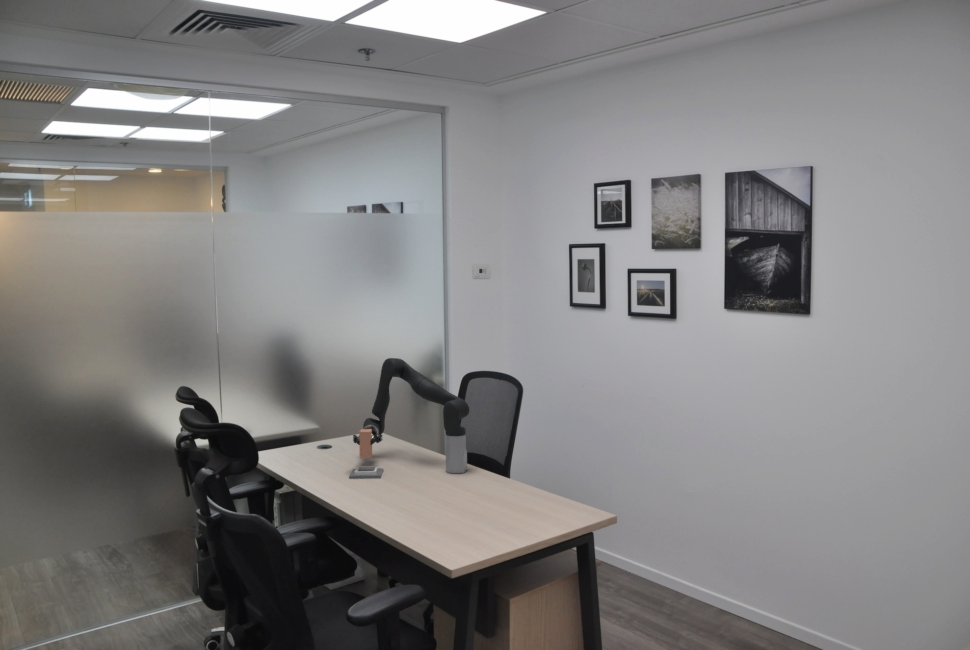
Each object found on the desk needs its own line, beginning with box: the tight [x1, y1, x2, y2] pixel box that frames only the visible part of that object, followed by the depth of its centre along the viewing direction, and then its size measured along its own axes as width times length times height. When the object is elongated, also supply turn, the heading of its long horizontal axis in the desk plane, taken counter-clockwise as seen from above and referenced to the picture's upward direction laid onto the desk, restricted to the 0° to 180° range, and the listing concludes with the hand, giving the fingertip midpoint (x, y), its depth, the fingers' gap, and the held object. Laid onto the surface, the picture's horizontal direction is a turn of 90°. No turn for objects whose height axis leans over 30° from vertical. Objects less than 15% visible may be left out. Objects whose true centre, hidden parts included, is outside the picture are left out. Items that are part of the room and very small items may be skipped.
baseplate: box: [348, 465, 384, 480], centre depth 330 cm, size 14×12×3 cm
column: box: [358, 428, 373, 459], centre depth 329 cm, size 5×5×12 cm
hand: (365, 442), depth 327 cm, fingers closed on column, 5 cm apart
